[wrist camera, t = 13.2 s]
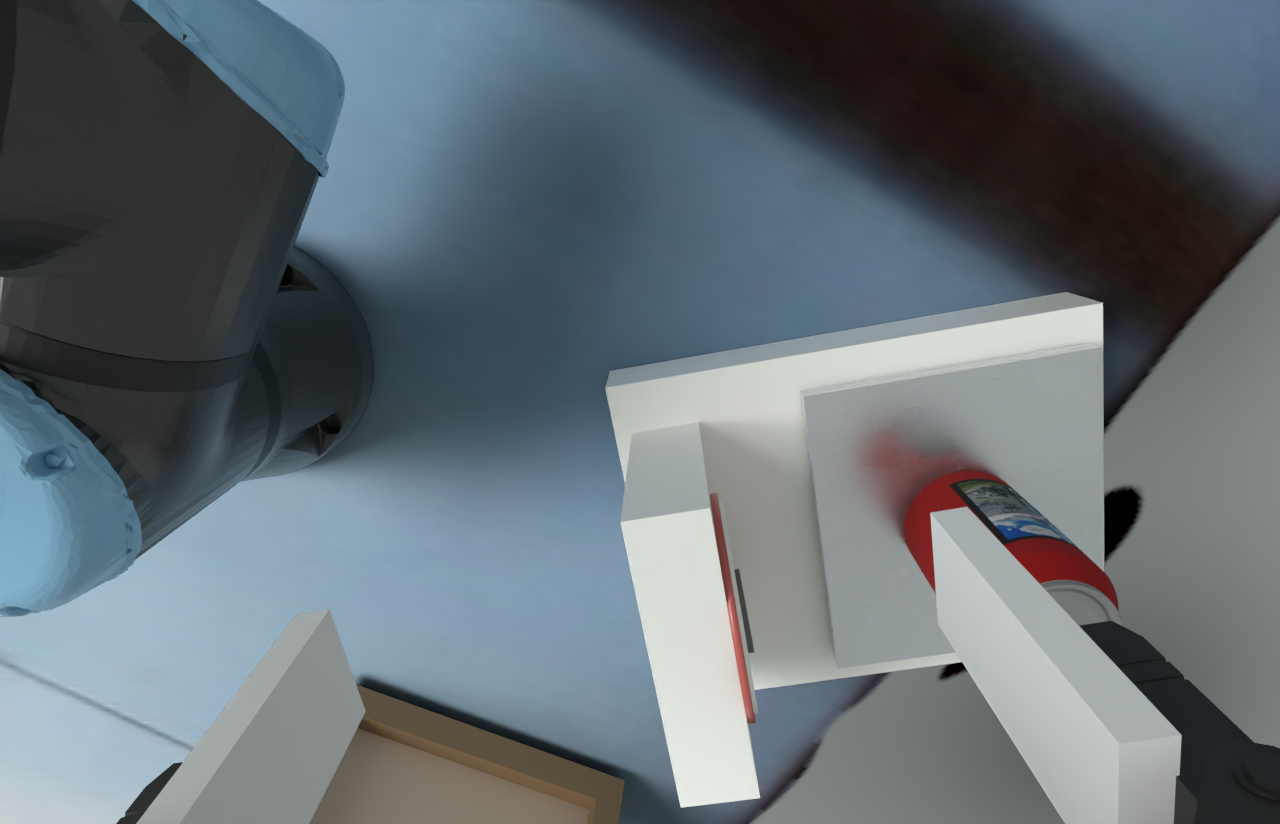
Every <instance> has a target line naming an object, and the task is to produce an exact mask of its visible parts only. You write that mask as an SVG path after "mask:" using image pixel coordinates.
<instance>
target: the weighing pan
mask: <svg viewBox="0 0 1280 824" xmlns="http://www.w3.org/2000/svg"><path fill="white" fill-rule="evenodd" d="M800 396H801V404H802V412H803V420H804V428H805V435H806V443H807V451H808V459H809V467H810V475H811V482H812V490H813V498H814V506H815V514H816V522H817V529H818V537H819V545H820V553H821V561H822V568H823V576H824V584H825V592H826V600H827V608H828V615H829V623H830V631H831V639H832V647H833V655H834V659H835V662H836V665H837V668H838V669H839V668H846V667H853V666H861V665H868V664H876V663H883V662H890V661H898V660H905V659H912V658H920V657H927V656H935V655H942V654H949V653H956V652H955V650H954V648H953V647H952V645H951V644H950V642H949V641H948V639H947V638H946V636H945V634H944V633H943V631H942V630H941V628H940V627H939V625H938V617H937V602H936V594H935V592H934V590H933V589H932V587H931V586H930V584H929V582H928V581H927V579H926V578H925V576H924V574H923V573H922V571H921V569H920V568H919V566H918V564H917V563H916V561H915V560H914V558H913V556H912V555H911V553H910V551H909V549H908V547H907V544H906V541H905V536H904V523H905V518H906V514H907V511H908V509H909V507H910V505H911V503H912V501H913V500H914V498H915V497H916V496H917V495H918V493H919V492H920V491H921V490H922V489H923V488H925V487H926V486H927V485H928V484H930V483H931V482H933V481H934V480H936V479H938V478H940V477H942V476H945V475H947V474H951V473H954V472H960V471H980V472H985V473H988V474H991V475H994V476H996V477H998V478H1000V479H1001V480H1003V481H1004V482H1006V483H1007V484H1008V485H1009V486H1011V487H1012V488H1013V489H1014V490H1015V491H1016V492H1017V493H1019V494H1020V495H1021V496H1022V497H1023V498H1024V499H1025V500H1027V501H1028V502H1029V503H1030V504H1031V505H1032V506H1033V507H1034V508H1036V509H1037V510H1038V511H1039V512H1040V513H1041V514H1042V515H1043V516H1044V517H1046V518H1047V519H1048V520H1049V521H1050V522H1051V523H1052V524H1053V525H1054V526H1055V527H1056V528H1058V529H1059V530H1060V531H1061V532H1062V533H1063V534H1064V535H1065V536H1066V537H1067V538H1068V539H1070V540H1071V541H1072V542H1073V543H1074V544H1075V545H1076V546H1077V547H1078V548H1079V549H1080V550H1081V551H1082V552H1083V553H1084V554H1086V555H1087V556H1088V557H1089V558H1090V559H1091V560H1092V561H1093V562H1094V563H1095V564H1096V565H1097V566H1098V567H1099V568H1100V569H1101V570H1102V519H1101V361H1100V347H1098V346H1096V345H1093V344H1091V343H1083V344H1077V345H1071V346H1065V347H1059V348H1053V349H1047V350H1041V351H1035V352H1029V353H1023V354H1017V355H1011V356H1005V357H999V358H993V359H987V360H981V361H975V362H969V363H963V364H957V365H951V366H946V367H940V368H934V369H928V370H922V371H916V372H910V373H904V374H898V375H892V376H886V377H880V378H874V379H868V380H862V381H856V382H850V383H844V384H838V385H832V386H826V387H820V388H814V389H808V390H802V391H800Z"/></svg>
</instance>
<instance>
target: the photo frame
mask: <svg viewBox="0 0 1280 824" xmlns="http://www.w3.org/2000/svg"><path fill="white" fill-rule="evenodd" d="M357 688H358V691H359V694H360V697H361V699H362V702H363V705H364V708H365V710H366V712H365V714H364V716H363V718H362V720H361V722H360V724H359V726H358V728H357V730H356V732H355V734H354V736H353V738H352V740H351V742H350V744H349V746H348V748H347V750H346V752H345V754H344V756H343V758H342V760H341V762H340V764H339V766H338V768H337V770H336V772H335V774H334V776H333V778H332V780H331V782H330V784H329V786H328V787H327V789H326V791H325V793H324V795H323V797H322V799H321V801H320V803H319V805H318V807H317V809H316V811H315V813H314V815H313V817H312V819H311V821H310V823H309V824H619V817H620V810H621V804H622V797H623V790H624V784H625V780H622V779H620V778H617V777H614V776H611V775H608V774H606V773H603V772H600V771H597V770H594V769H592V768H589V767H586V766H583V765H580V764H578V763H575V762H572V761H569V760H566V759H564V758H561V757H558V756H555V755H552V754H550V753H547V752H544V751H541V750H538V749H535V748H533V747H530V746H527V745H524V744H521V743H519V742H516V741H513V740H510V739H507V738H505V737H502V736H499V735H496V734H493V733H491V732H488V731H485V730H482V729H479V728H477V727H474V726H471V725H468V724H465V723H463V722H460V721H457V720H454V719H451V718H449V717H446V716H443V715H440V714H437V713H435V712H432V711H429V710H426V709H423V708H421V707H418V706H415V705H412V704H409V703H407V702H404V701H401V700H398V699H395V698H392V697H390V696H387V695H384V694H381V693H378V692H376V691H373V690H370V689H367V688H364V687H362V686H359V685H357Z"/></svg>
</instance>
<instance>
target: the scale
mask: <svg viewBox="0 0 1280 824" xmlns="http://www.w3.org/2000/svg"><path fill="white" fill-rule="evenodd" d="M1083 343H1091V344H1093V345H1096V346H1098V347H1100V361H1101V519H1102V570H1103V572H1104V405H1103V303H1102V302H1098V301H1095V300H1092V299H1088V298H1085V297H1082V296H1078V295H1075V294H1071V293H1068V292H1063V293H1058V294H1052V295H1046V296H1040V297H1034V298H1029V299H1023V300H1017V301H1011V302H1005V303H1000V304H994V305H988V306H982V307H976V308H971V309H965V310H959V311H953V312H948V313H942V314H936V315H930V316H924V317H919V318H913V319H907V320H901V321H895V322H890V323H884V324H878V325H872V326H866V327H861V328H855V329H849V330H843V331H838V332H832V333H826V334H820V335H814V336H809V337H803V338H797V339H791V340H785V341H780V342H774V343H768V344H762V345H756V346H751V347H745V348H739V349H733V350H727V351H722V352H716V353H710V354H704V355H699V356H693V357H687V358H681V359H675V360H670V361H664V362H658V363H652V364H646V365H641V366H635V367H629V368H623V369H617V370H612V371H610V373H609V376H608V380H607V384H606V387H605V389H606V394H607V399H608V403H609V408H610V413H611V418H612V423H613V428H614V433H615V437H616V442H617V447H618V452H619V457H620V462H621V467H622V471H623V476H624V481H625V490H624V498H623V505H622V513H621V521H620V523H621V527H622V532H623V537H624V541H625V546H626V551H627V556H628V560H629V565H630V570H631V575H632V579H633V584H634V589H635V594H636V598H637V603H638V608H639V612H640V617H641V622H642V627H643V631H644V636H645V641H646V646H647V650H648V655H649V660H650V665H651V669H652V674H653V679H654V683H655V688H656V693H657V698H658V702H659V707H660V712H661V717H662V721H663V726H664V731H665V735H666V740H667V745H668V750H669V754H670V759H671V764H672V769H673V773H674V778H675V783H676V788H677V792H678V797H679V802H680V806H681V808H683V807H691V806H699V805H707V804H716V803H724V802H732V801H740V800H748V799H756V798H760V794H759V788H758V781H757V775H756V768H755V762H754V755H753V748H752V742H751V735H750V729H749V724H750V723H756V722H755V716H754V714H758V709H757V703H756V697H755V691H754V690H758V689H765V688H773V687H780V686H787V685H795V684H802V683H810V682H817V681H825V680H832V679H840V678H847V677H854V676H862V675H869V674H877V673H884V672H892V671H899V670H906V669H914V668H921V667H928V666H936V665H944V664H951V663H959V662H962V661H961V659H960V658H959V656H958V655H957V653H949V654H942V655H935V656H927V657H920V658H912V659H905V660H898V661H890V662H883V663H876V664H868V665H861V666H853V667H846V668H839V669H838V668H837V665H836V662H835V659H834V655H833V647H832V639H831V631H830V623H829V615H828V608H827V600H826V592H825V584H824V576H823V568H822V561H821V553H820V545H819V537H818V529H817V522H816V514H815V506H814V498H813V490H812V482H811V475H810V467H809V459H808V451H807V443H806V435H805V428H804V420H803V412H802V404H801V396H800V391H802V390H808V389H814V388H820V387H826V386H832V385H838V384H844V383H850V382H856V381H862V380H868V379H874V378H880V377H886V376H892V375H898V374H904V373H910V372H916V371H922V370H928V369H934V368H940V367H946V366H951V365H957V364H963V363H969V362H975V361H981V360H987V359H993V358H999V357H1005V356H1011V355H1017V354H1023V353H1029V352H1035V351H1041V350H1047V349H1053V348H1059V347H1065V346H1071V345H1077V344H1083Z"/></svg>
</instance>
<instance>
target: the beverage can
mask: <svg viewBox="0 0 1280 824" xmlns="http://www.w3.org/2000/svg"><path fill="white" fill-rule="evenodd" d="M962 507H968V508H969V509H970V510H971V511H972V512H973V513H974V515H975V516H976V517H977V518H978V519H979V520H980V521H981V522H982V523H983V524H984V525H985V526H986V527H987V528H988V529H989V530H990V532H991V533H992V534H993V535H994V536H995V537H996V538H997V539H998V540H999V541H1000V542H1001V543H1002V544H1003V545H1004V546H1005V548H1006V549H1007V550H1008V551H1009V552H1010V553H1011V554H1012V555H1013V556H1014V557H1015V558H1016V559H1017V560H1018V561H1019V562H1020V564H1021V565H1022V566H1023V567H1024V568H1025V569H1026V570H1027V571H1028V572H1029V573H1030V574H1031V575H1032V576H1033V577H1034V578H1035V579H1036V581H1037V582H1038V583H1039V584H1040V585H1041V586H1042V587H1043V588H1044V589H1045V590H1046V591H1047V592H1048V593H1049V594H1050V595H1051V597H1052V598H1053V599H1054V600H1055V601H1056V602H1057V603H1058V604H1059V605H1060V606H1061V607H1062V608H1063V609H1064V610H1065V611H1066V613H1067V614H1068V615H1069V616H1070V617H1071V618H1072V619H1073V620H1074V621H1075V622H1076V623H1077V624H1078V625H1085V624H1092V623H1099V622H1105V621H1113V622H1115V623H1117V624H1119V625H1121V626H1123V625H1122V620H1121V616H1120V614H1119V612H1118V600H1117V596H1116V592H1115V589H1114V587H1113V585H1112V583H1111V581H1110V579H1109V578H1108V576H1107V575H1106V574H1105V573H1104V572H1103V570H1101V569H1100V568H1099V567H1098V566H1097V565H1096V564H1095V563H1094V562H1093V561H1092V560H1091V559H1090V558H1089V557H1088V556H1087V555H1086V554H1084V553H1083V552H1082V551H1081V550H1080V549H1079V548H1078V547H1077V546H1076V545H1075V544H1074V543H1073V542H1072V541H1071V540H1070V539H1068V538H1067V537H1066V536H1065V535H1064V534H1063V533H1062V532H1061V531H1060V530H1059V529H1058V528H1056V527H1055V526H1054V525H1053V524H1052V523H1051V522H1050V521H1049V520H1048V519H1047V518H1046V517H1044V516H1043V515H1042V514H1041V513H1040V512H1039V511H1038V510H1037V509H1036V508H1034V507H1033V506H1032V505H1031V504H1030V503H1029V502H1028V501H1027V500H1025V499H1024V498H1023V497H1022V496H1021V495H1020V494H1019V493H1017V492H1016V491H1015V490H1014V489H1013V488H1012V487H1011V486H1009V485H1008V484H1007V483H1006V482H1004V481H1003V480H1001V479H1000V478H998V477H996V476H994V475H991V474H988V473H985V472H980V471H960V472H954V473H951V474H947V475H945V476H942V477H940V478H938V479H936V480H934V481H933V482H931V483H930V484H928V485H927V486H926V487H925V488H923V489H922V490H921V491H920V492H919V493H918V495H917V496H916V497H915V498H914V500H913V501H912V503H911V505H910V507H909V509H908V511H907V514H906V518H905V523H904V536H905V541H906V544H907V547H908V549H909V551H910V553H911V555H912V556H913V558H914V560H915V561H916V563H917V564H918V566H919V568H920V569H921V571H922V573H923V574H924V576H925V578H926V579H927V581H928V582H929V584H930V586H931V587H932V589H933V590H934V592H935V594H936V588H935V574H934V559H933V545H932V531H931V516H930V513H931V512H937V511H943V510H950V509H956V508H962Z"/></svg>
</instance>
